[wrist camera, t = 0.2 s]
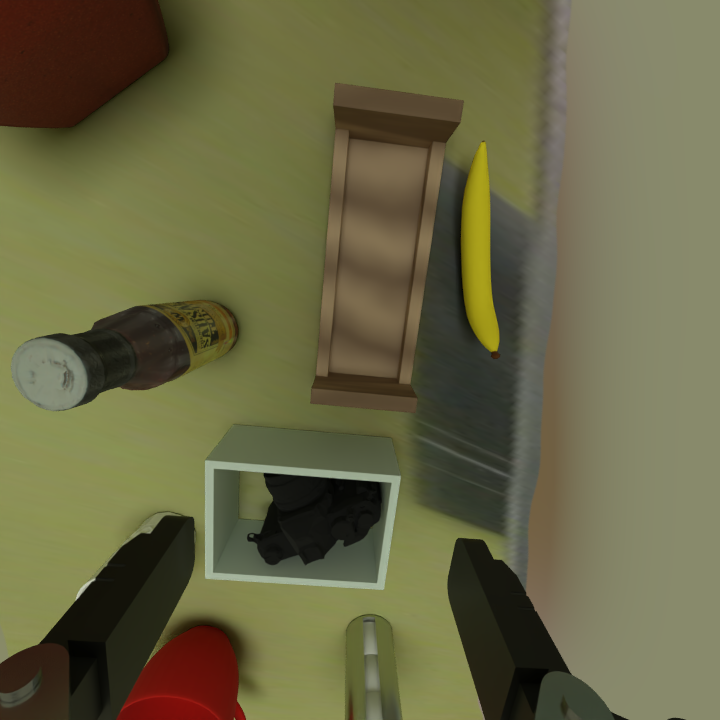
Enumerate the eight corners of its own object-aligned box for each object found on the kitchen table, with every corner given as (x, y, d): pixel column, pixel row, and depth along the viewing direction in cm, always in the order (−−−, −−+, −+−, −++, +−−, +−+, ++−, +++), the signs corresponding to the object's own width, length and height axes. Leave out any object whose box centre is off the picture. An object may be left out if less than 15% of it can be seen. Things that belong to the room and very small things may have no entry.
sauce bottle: (252, 327, 37) (145, 383, 18) (215, 367, 38) (76, 460, 19) (205, 284, 36) (34, 292, 17) (168, 326, 37) (-34, 380, 17)
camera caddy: (233, 424, 40) (205, 460, 32) (391, 437, 41) (400, 476, 33) (231, 523, 43) (205, 578, 35) (377, 534, 44) (383, 589, 36)
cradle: (338, 123, 33) (334, 82, 26) (440, 136, 33) (463, 100, 26) (317, 381, 39) (310, 403, 32) (404, 389, 39) (415, 413, 32)
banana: (479, 157, 34) (508, 131, 28) (486, 344, 38) (512, 357, 32) (450, 161, 34) (472, 135, 28) (460, 347, 38) (482, 361, 32)
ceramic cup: (228, 706, 50) (199, 809, 41) (138, 642, 47) (83, 737, 37) (292, 661, 48) (277, 757, 39) (203, 590, 45) (163, 676, 35)
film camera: (355, 420, 40) (356, 461, 31) (384, 487, 42) (393, 542, 34) (239, 466, 41) (209, 517, 32) (274, 528, 43) (254, 592, 35)
